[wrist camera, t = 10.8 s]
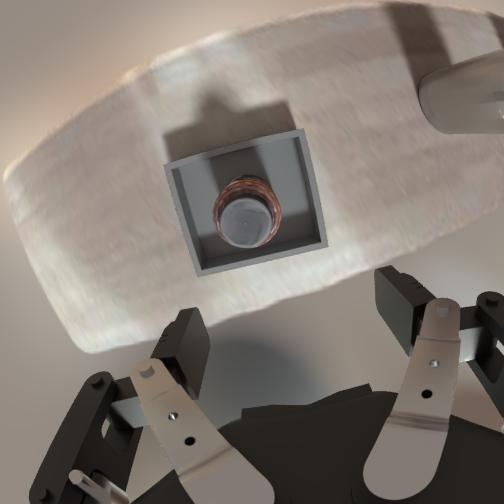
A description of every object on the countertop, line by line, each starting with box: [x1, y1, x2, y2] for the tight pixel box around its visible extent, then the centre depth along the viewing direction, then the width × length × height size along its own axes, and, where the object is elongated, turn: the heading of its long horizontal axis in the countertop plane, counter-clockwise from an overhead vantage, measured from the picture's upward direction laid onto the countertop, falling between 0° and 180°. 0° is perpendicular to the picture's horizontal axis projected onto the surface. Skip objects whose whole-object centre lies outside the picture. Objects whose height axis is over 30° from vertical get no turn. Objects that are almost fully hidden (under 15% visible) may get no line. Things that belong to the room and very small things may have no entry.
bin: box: [164, 128, 329, 277], centre depth 31 cm, size 15×13×4 cm
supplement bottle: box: [213, 175, 281, 248], centre depth 26 cm, size 6×6×11 cm
